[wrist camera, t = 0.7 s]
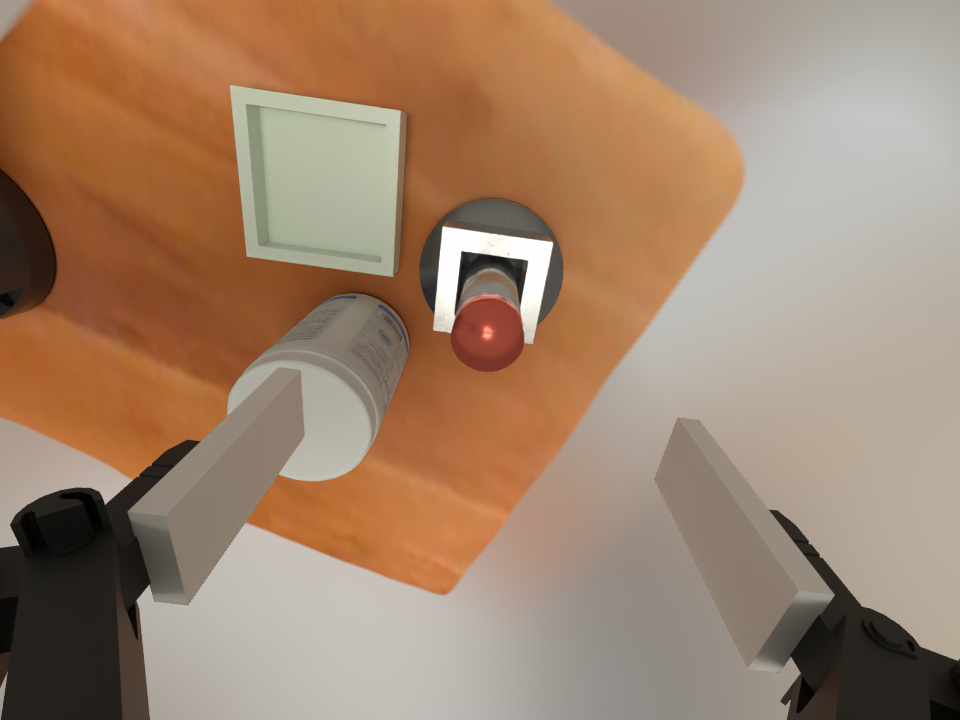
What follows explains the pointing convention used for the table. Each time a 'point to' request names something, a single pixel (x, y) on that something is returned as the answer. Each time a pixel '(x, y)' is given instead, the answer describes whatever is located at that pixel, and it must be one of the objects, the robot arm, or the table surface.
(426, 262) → the grey socket fixture
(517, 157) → the table surface
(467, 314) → the red capped bottle
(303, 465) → the supplement tub
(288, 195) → the tray
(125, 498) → the robot arm
